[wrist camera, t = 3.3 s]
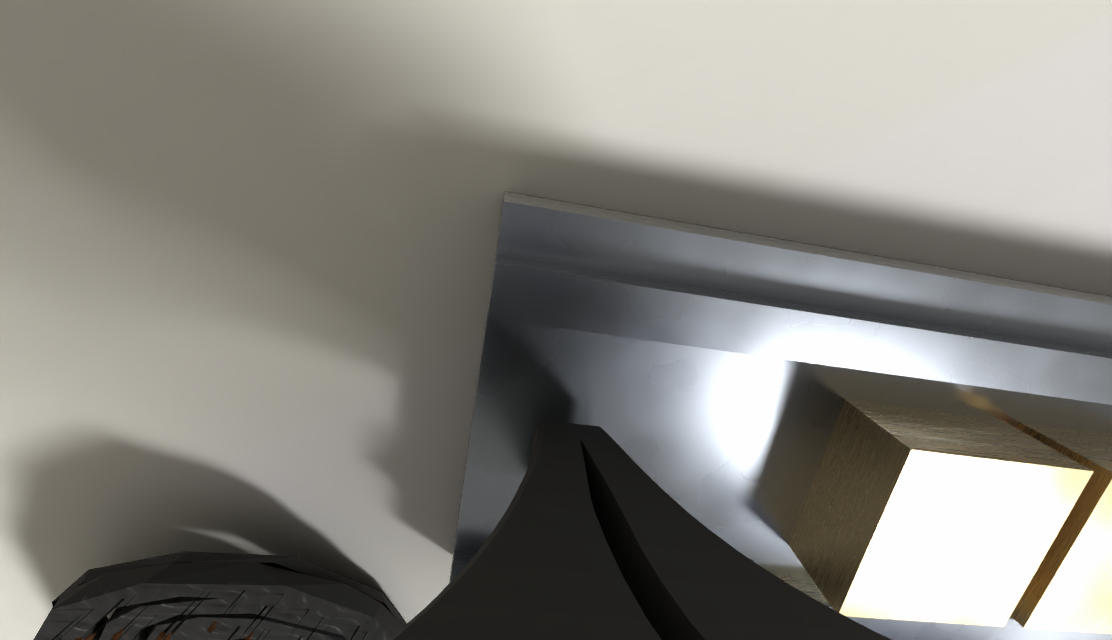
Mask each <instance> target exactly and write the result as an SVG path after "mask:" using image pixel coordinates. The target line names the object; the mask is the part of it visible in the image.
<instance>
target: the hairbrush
mask: <svg viewBox="0 0 1112 640" xmlns="http://www.w3.org/2000/svg"><path fill="white" fill-rule="evenodd" d="M52 604H53V608H52V610H51V611H50V613H49V615H48V616H47V618H46V620H45V621H44V623H43V625H42V626H41V628H40V630H39V631H38V633H37V635H36V636H35V638H34V640H389V639H390V638H391V637H393V636H394V635H395V634H396V633H397V632H398V631H399V630H401V629H402V628H403V627H404V626H405V625H406V624H407V623H406V622H405V620H404V619H403V617H402V616H401V615H400V613H399V612H398V611H397V610H396V609H395V607H394V606H393V605H392V604H391V603H390V601H389V600H388V599H387V598H386V597H385V595H384V594H383V593H382V592H381V591H378V590H376V589H374V588H371V587H369V586H366V585H364V584H362V583H359V582H357V581H354V580H352V579H349V578H347V577H345V576H342V575H340V574H337V573H335V572H332V571H330V570H328V569H325V568H323V567H320V566H318V565H315V564H313V563H311V562H308V561H306V560H303V559H301V558H298V557H296V556H276V555H253V554H230V553H208V552H181V553H175V554H170V555H165V556H159V557H154V558H149V559H143V560H138V561H133V562H127V563H122V564H117V565H111V566H106V567H101V568H95V569H90V570H88V571H87V572H86V573H84V574H83V575H82V576H81V577H80V578H79V579H78V580H76V581H75V582H74V583H73V584H72V585H71V586H70V587H69V588H67V589H66V590H65V591H64V592H63V593H62V594H61V595H60V596H58V597H57V598H56V599H55V600H54V601H53V602H52ZM114 608H117V609H116V610H115V611H114V613H113V614H112V616H111V618H110V619H109V620H108V618H107V616H106V615H108V614H109V613H110V612H111V611H112V610H113V609H114ZM154 624H155V625H154Z"/></svg>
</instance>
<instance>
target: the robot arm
mask: <svg viewBox="0 0 1112 640" xmlns="http://www.w3.org/2000/svg"><path fill="white" fill-rule="evenodd" d="M389 640H892V639H890V638H888V637H885V636H883V635H881V634H879V633H877V632H875V631H873V630H871V629H869V628H867V627H865V626H863V625H861V624H859V623H857V622H855V621H854V620H852V619H850V618H848V617H846V616H844V615H842V614H841V613H839V612H837V611H835V610H833V609H831V608H829V607H828V606H826V605H824V604H822V603H820V602H818V601H817V600H815V599H813V598H812V597H810V596H808V595H806V594H805V593H803V592H801V591H799V590H798V589H796V588H794V587H793V586H791V585H789V584H788V583H786V582H785V581H783V580H782V579H780V578H778V577H777V576H775V575H774V574H772V573H771V572H769V571H767V570H766V569H764V568H763V567H761V566H759V565H758V564H756V563H755V562H753V561H752V560H750V559H749V558H748V557H746V556H745V555H743V554H742V553H740V552H739V551H737V550H736V549H735V548H733V547H732V546H731V545H729V544H728V543H727V542H725V541H724V540H723V539H721V538H720V537H719V536H717V535H716V534H715V533H713V532H712V531H711V530H709V529H708V528H707V527H705V526H704V525H703V524H702V523H700V522H699V521H698V520H697V519H696V518H694V517H693V516H692V515H691V514H690V513H688V512H687V511H686V510H685V509H684V508H683V507H682V506H681V505H679V504H678V503H677V502H676V501H675V500H674V499H673V498H671V497H670V496H669V495H668V494H667V493H666V492H665V491H664V490H663V489H662V488H661V487H660V486H658V485H657V484H656V483H655V482H654V481H653V480H652V479H651V478H650V477H649V476H648V475H647V474H646V473H645V472H644V471H643V470H642V469H641V468H640V467H639V466H638V465H637V464H636V463H635V462H634V461H633V460H632V459H631V458H630V456H629V455H628V454H627V453H626V452H625V451H624V450H623V449H622V448H621V447H620V446H619V445H618V444H617V443H616V442H615V441H614V440H613V439H612V438H611V437H610V436H609V435H608V434H607V433H606V432H605V431H604V430H603V429H602V428H601V427H600V426H592V425H583V424H574V423H565V422H556V421H547V420H541V421H540V422H538V423H537V424H535V430H534V435H533V441H532V446H531V451H530V457H529V462H528V468H527V471H526V474H525V476H524V478H523V480H522V482H521V484H520V486H519V488H518V490H517V492H516V494H515V496H514V498H513V500H512V502H511V503H510V505H509V507H508V509H507V510H506V512H505V513H504V515H503V517H502V518H501V520H500V521H499V523H498V524H497V526H496V527H495V529H494V530H493V532H492V533H491V534H490V536H489V537H488V538H487V540H486V541H485V542H484V544H483V545H482V546H481V548H480V549H479V550H478V552H477V553H476V554H475V555H474V557H473V558H472V559H471V560H470V562H469V563H468V564H467V565H466V566H465V567H464V568H463V569H462V571H461V572H460V573H459V574H458V575H457V576H456V577H455V578H454V579H453V580H452V581H451V582H450V583H449V584H448V585H447V587H446V588H445V589H444V590H443V591H442V592H441V593H440V594H439V595H438V596H437V597H436V598H435V599H434V600H433V601H432V602H431V603H430V604H429V605H428V606H427V607H426V608H425V609H423V610H422V611H421V612H420V613H419V614H418V615H417V616H415V617H414V618H413V619H412V620H411V621H410V622H409V623H407V624H406V625H405V626H404V627H403V628H402V629H401V630H399V631H398V632H397V633H396V634H395V635H394V636H393V637H391V638H390V639H389Z"/></svg>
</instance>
